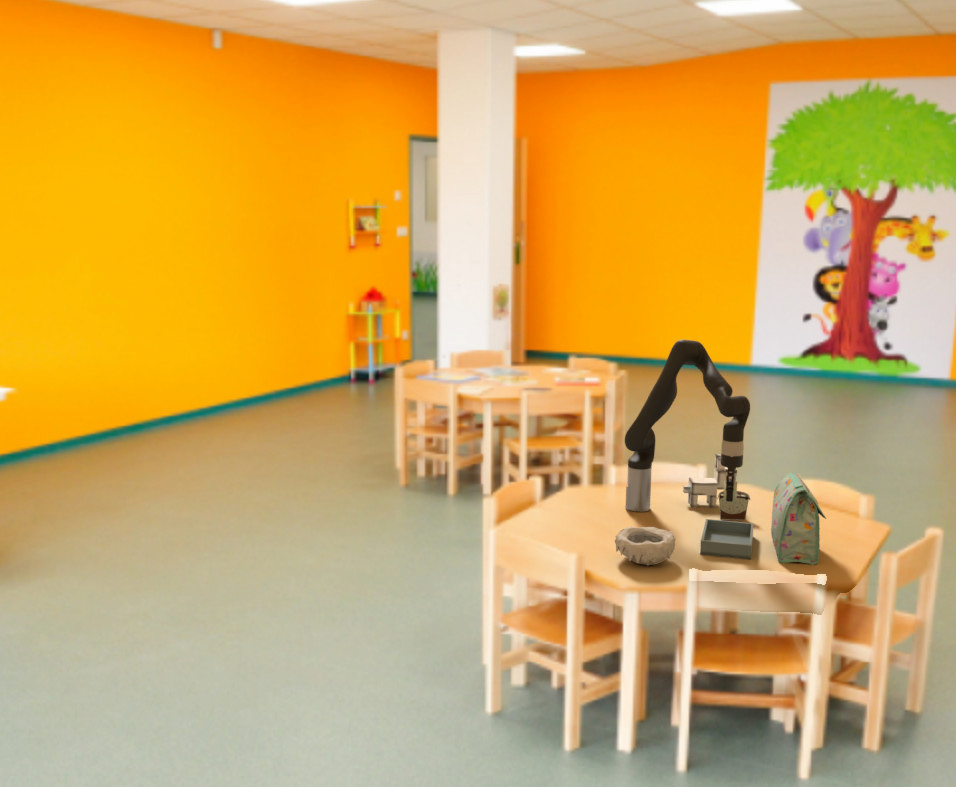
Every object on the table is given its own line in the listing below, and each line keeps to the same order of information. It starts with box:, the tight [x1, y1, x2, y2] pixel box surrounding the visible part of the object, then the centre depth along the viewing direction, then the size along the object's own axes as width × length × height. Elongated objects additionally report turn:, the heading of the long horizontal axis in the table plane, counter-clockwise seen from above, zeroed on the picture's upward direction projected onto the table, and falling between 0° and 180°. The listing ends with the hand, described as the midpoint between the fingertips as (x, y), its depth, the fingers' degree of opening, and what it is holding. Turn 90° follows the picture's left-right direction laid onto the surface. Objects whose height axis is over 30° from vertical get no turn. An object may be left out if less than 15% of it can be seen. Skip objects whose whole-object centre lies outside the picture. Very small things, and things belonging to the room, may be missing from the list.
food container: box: [717, 490, 751, 521], centre depth 386 cm, size 12×6×10 cm, turn 84°
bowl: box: [614, 525, 676, 567], centre depth 341 cm, size 21×20×10 cm
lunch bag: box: [770, 472, 827, 566], centre depth 347 cm, size 23×16×27 cm
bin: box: [699, 518, 754, 560], centre depth 356 cm, size 17×24×5 cm
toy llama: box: [682, 453, 728, 508], centre depth 400 cm, size 8×18×20 cm, turn 88°
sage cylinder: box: [723, 481, 738, 503], centre depth 353 cm, size 4×4×7 cm
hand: (729, 498), depth 353 cm, fingers closed on sage cylinder, 4 cm apart
